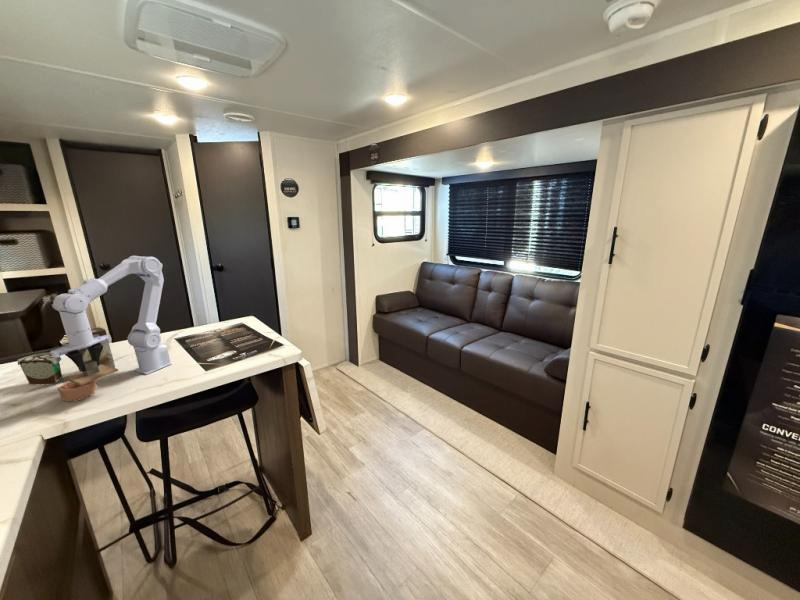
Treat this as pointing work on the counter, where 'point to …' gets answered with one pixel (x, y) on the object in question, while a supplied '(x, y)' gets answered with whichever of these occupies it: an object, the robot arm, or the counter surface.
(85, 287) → the robot arm
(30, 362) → the food container
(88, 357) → the coffee box
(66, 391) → the bowl
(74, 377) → the board
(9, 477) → the counter surface
